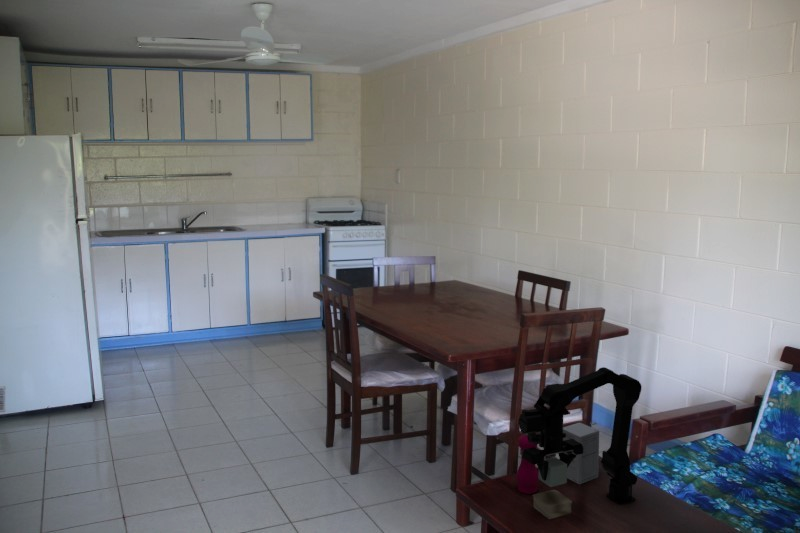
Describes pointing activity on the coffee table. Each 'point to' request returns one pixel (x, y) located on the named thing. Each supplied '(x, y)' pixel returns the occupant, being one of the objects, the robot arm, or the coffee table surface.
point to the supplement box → (587, 462)
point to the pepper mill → (526, 469)
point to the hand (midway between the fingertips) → (552, 477)
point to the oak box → (552, 504)
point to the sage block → (555, 472)
